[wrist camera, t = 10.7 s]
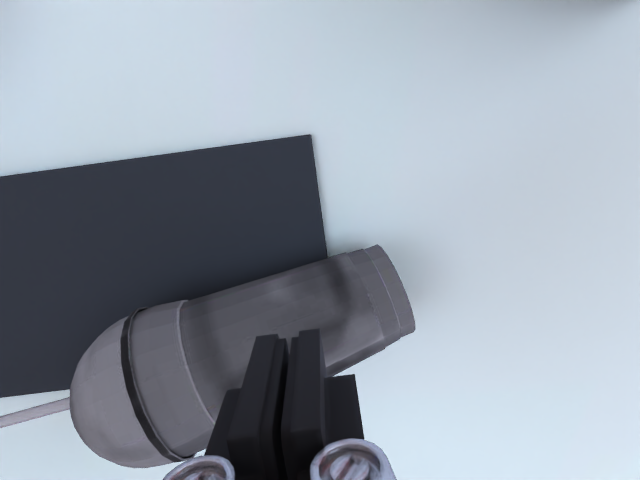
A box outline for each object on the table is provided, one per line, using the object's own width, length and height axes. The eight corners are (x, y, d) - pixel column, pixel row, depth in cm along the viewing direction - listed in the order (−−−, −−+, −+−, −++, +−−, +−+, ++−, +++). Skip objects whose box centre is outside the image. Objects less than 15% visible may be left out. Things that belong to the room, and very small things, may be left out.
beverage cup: (412, 359, 24) (56, 509, 23) (359, 239, 26) (26, 371, 24) (445, 362, 17) (-70, 580, 16) (369, 196, 19) (-100, 379, 17)
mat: (-83, 187, 22) (-90, 189, 22) (310, 134, 22) (310, 134, 21) (-7, 395, 25) (-12, 399, 25) (340, 352, 25) (340, 356, 24)
